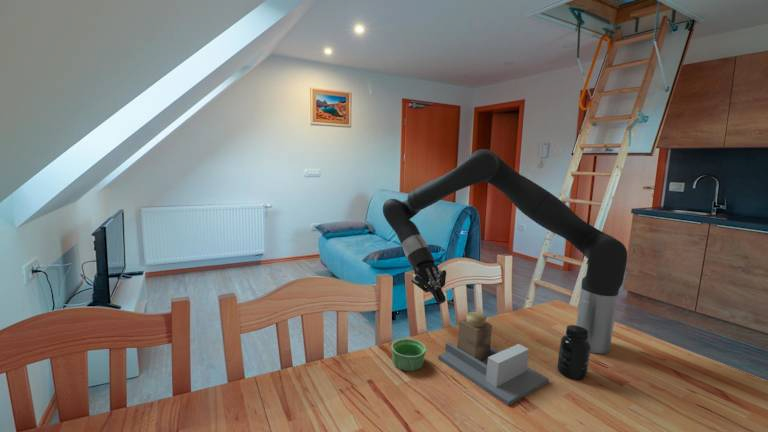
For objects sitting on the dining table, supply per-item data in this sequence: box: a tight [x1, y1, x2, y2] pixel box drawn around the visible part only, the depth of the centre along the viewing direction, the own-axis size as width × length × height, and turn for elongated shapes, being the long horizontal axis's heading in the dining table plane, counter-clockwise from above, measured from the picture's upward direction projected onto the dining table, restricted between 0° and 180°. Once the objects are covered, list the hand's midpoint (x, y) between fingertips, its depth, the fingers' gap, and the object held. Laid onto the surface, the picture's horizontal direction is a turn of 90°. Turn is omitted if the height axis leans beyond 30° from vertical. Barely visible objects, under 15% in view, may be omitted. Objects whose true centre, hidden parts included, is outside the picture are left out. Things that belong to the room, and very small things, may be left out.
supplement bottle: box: [556, 324, 591, 381], centre depth 92 cm, size 7×7×12 cm
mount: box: [437, 341, 550, 406], centre depth 93 cm, size 16×23×7 cm
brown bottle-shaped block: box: [457, 311, 493, 361], centre depth 96 cm, size 6×6×11 cm
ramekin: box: [391, 338, 427, 372], centre depth 94 cm, size 9×9×4 cm
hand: (442, 302), depth 106 cm, fingers closed
